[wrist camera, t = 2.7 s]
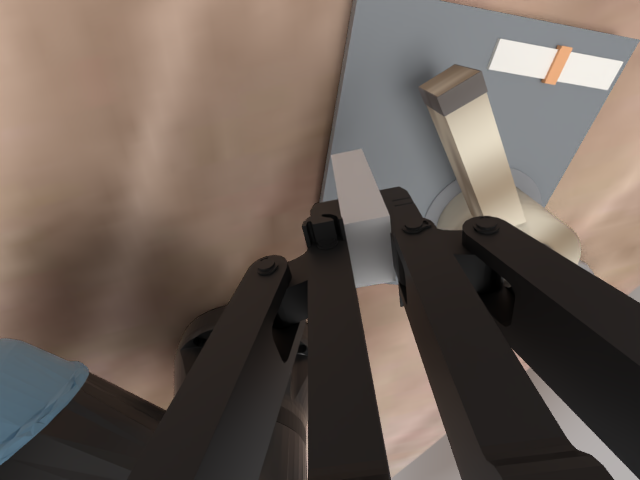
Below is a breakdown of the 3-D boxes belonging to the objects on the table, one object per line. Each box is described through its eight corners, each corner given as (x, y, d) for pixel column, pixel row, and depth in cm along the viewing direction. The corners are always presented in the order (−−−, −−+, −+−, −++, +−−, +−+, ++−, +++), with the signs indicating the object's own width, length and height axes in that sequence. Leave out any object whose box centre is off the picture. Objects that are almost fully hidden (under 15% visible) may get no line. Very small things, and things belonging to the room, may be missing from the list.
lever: (537, 234, 27) (599, 291, 21) (453, 272, 28) (490, 334, 23) (478, 33, 19) (551, 37, 13) (369, 103, 21) (393, 131, 15)
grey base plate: (485, 279, 32) (498, 297, 30) (309, 262, 30) (309, 280, 28) (613, 38, 21) (647, 40, 19) (354, -12, 20) (361, -17, 17)
